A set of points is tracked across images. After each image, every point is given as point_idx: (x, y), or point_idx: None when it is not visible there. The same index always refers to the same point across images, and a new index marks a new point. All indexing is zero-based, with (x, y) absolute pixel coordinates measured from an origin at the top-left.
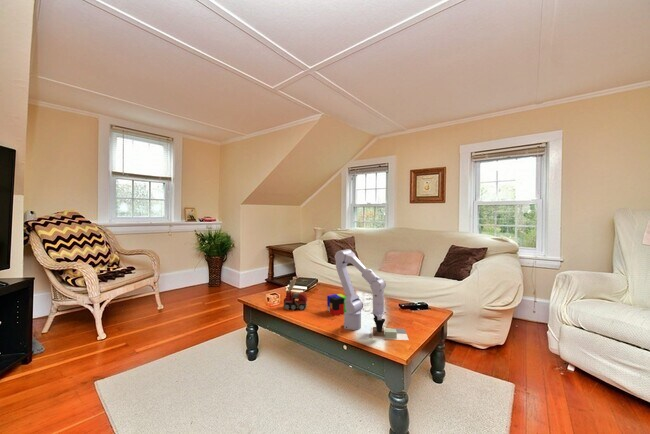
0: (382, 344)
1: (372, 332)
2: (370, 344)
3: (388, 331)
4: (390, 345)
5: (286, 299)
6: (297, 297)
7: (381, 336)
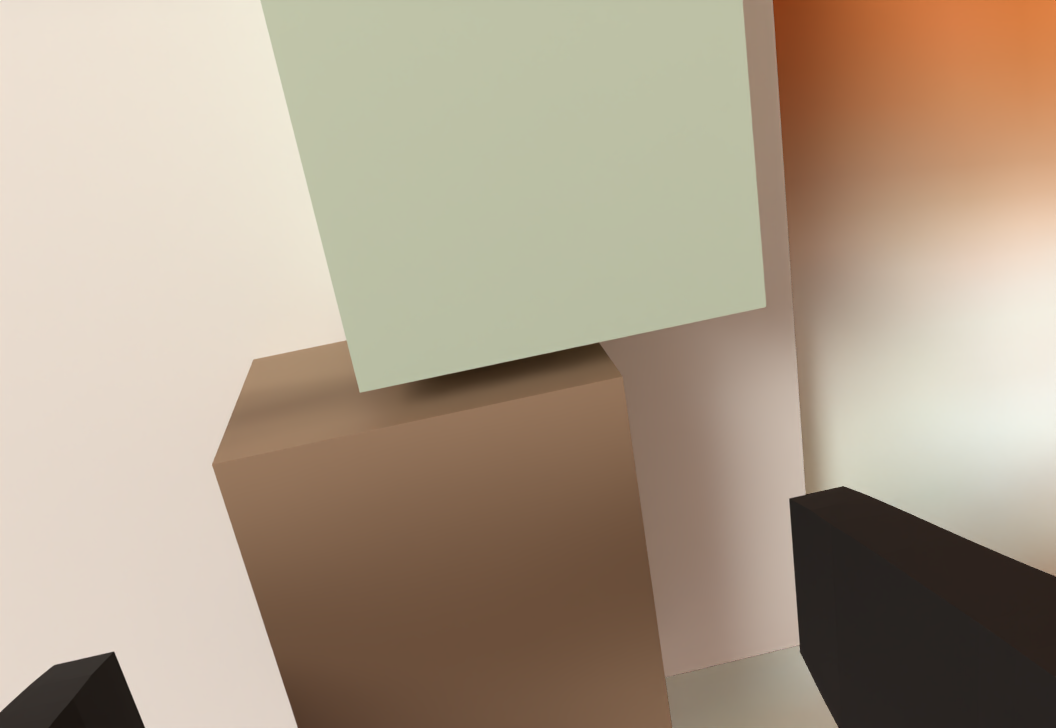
0: (995, 287)
1: None
2: None
3: (693, 156)
4: (1043, 16)
5: None
6: None
7: None
